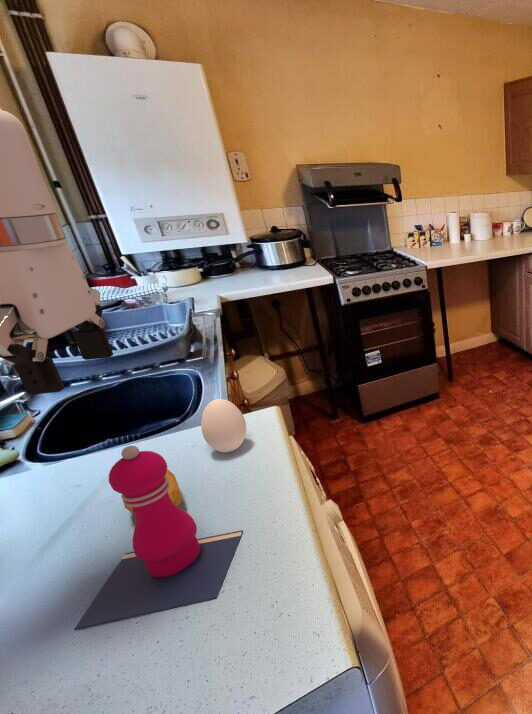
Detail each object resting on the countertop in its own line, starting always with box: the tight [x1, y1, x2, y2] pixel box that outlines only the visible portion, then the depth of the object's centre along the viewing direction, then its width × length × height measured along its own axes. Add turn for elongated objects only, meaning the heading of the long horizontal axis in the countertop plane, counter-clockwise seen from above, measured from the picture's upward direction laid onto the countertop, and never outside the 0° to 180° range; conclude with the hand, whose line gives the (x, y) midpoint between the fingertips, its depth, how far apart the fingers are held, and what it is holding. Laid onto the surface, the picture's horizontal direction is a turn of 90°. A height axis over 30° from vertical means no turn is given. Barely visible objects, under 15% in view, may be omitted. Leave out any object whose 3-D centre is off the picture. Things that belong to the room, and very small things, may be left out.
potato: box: [122, 468, 183, 516], centre depth 74 cm, size 7×14×7 cm, turn 45°
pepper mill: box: [108, 445, 200, 577], centre depth 61 cm, size 7×7×20 cm
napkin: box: [73, 529, 244, 631], centre depth 62 cm, size 16×12×1 cm
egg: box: [200, 398, 248, 453], centre depth 88 cm, size 7×7×12 cm
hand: (75, 373), depth 54 cm, fingers open, 9 cm apart
